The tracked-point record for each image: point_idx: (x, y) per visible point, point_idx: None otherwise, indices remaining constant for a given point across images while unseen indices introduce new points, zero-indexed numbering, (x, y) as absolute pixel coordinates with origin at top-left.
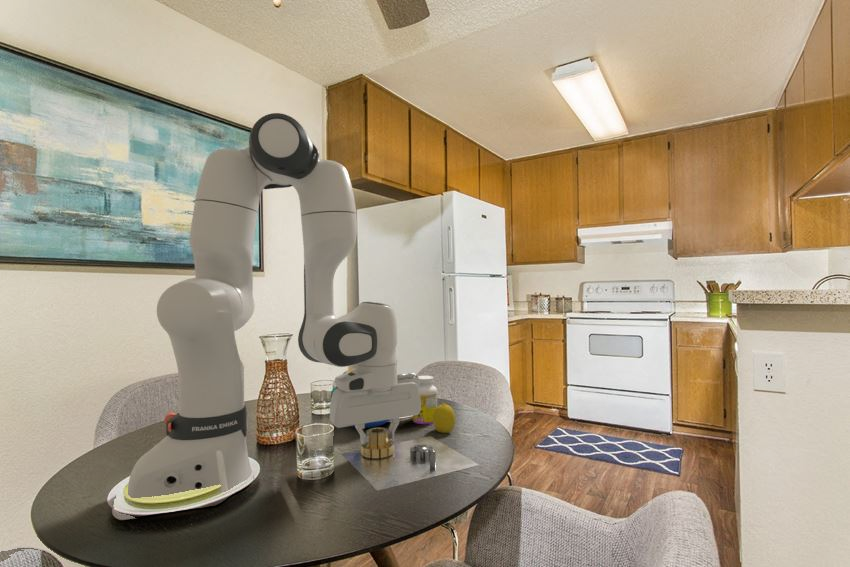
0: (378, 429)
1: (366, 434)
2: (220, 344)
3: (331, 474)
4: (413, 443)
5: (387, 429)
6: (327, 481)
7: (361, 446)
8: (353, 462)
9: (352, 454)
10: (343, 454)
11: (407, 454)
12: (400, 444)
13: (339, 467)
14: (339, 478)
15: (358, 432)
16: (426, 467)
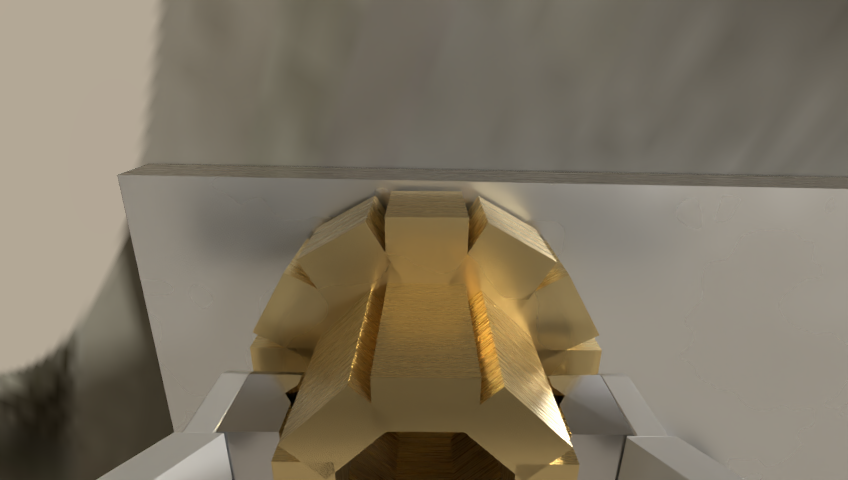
0: (476, 432)
1: (265, 472)
2: None
3: (50, 377)
4: (827, 286)
5: (611, 432)
6: (24, 448)
7: (253, 356)
8: (189, 393)
9: (211, 245)
10: (130, 201)
11: None
12: (715, 245)
13: (113, 301)
14: (99, 447)
15: (142, 453)
16: None
